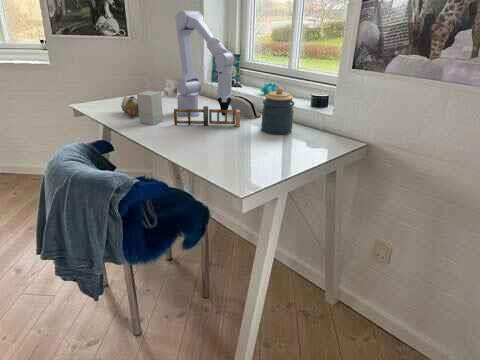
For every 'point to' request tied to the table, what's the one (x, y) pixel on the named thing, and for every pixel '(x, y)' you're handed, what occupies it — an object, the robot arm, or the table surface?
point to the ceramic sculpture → (130, 106)
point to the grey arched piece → (244, 106)
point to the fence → (188, 116)
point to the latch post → (237, 118)
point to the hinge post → (205, 115)
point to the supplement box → (150, 107)
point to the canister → (277, 112)
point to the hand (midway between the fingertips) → (224, 115)
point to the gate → (218, 116)
